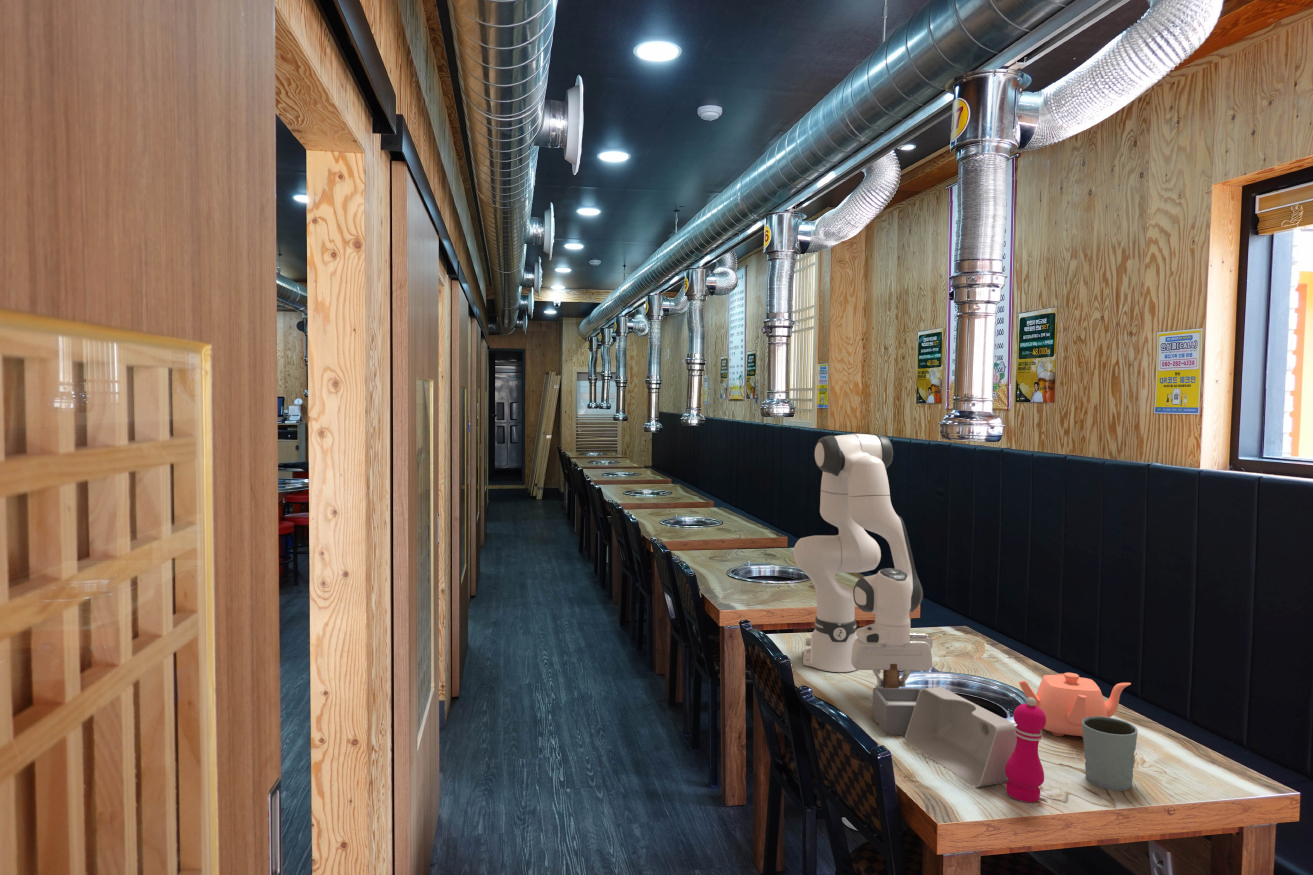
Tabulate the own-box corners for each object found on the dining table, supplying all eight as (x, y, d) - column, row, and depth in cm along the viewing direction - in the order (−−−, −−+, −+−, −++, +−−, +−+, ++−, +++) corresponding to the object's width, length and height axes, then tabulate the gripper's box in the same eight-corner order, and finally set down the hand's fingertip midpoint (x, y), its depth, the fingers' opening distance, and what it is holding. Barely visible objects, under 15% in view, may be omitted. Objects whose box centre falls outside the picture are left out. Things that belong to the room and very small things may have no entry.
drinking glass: (1147, 790, 168) (1149, 732, 168) (1104, 794, 166) (1106, 736, 166) (1110, 768, 178) (1111, 713, 178) (1069, 772, 176) (1071, 717, 176)
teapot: (1130, 736, 196) (1132, 679, 195) (1082, 752, 186) (1085, 692, 186) (1059, 711, 211) (1061, 658, 211) (1012, 724, 202) (1014, 669, 201)
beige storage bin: (1040, 778, 173) (1042, 720, 173) (978, 790, 168) (980, 729, 167) (959, 733, 197) (961, 681, 196) (903, 741, 192) (904, 688, 191)
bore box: (872, 715, 207) (873, 687, 207) (920, 715, 207) (920, 688, 207) (885, 734, 195) (886, 705, 195) (936, 734, 195) (937, 705, 195)
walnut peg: (880, 704, 214) (881, 659, 214) (896, 704, 214) (897, 659, 214) (884, 710, 210) (886, 664, 210) (900, 710, 210) (901, 664, 210)
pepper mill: (1044, 806, 161) (1054, 706, 160) (1005, 799, 163) (1014, 700, 162) (1039, 790, 168) (1048, 694, 167) (1001, 783, 170) (1010, 688, 169)
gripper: (928, 629, 215) (927, 682, 215) (850, 629, 214) (849, 681, 215) (936, 637, 208) (935, 690, 209) (856, 636, 208) (855, 690, 209)
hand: (890, 686), depth 212 cm, fingers closed on walnut peg, 4 cm apart
